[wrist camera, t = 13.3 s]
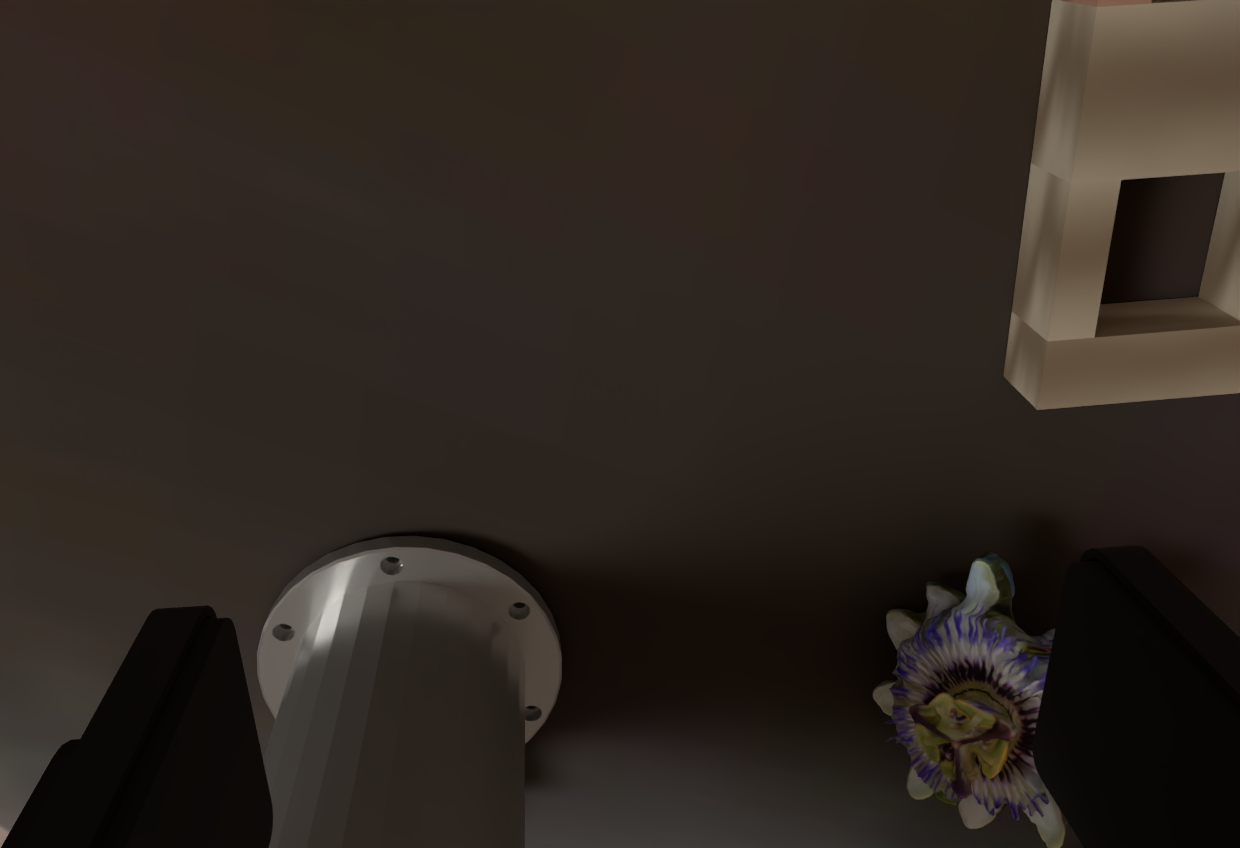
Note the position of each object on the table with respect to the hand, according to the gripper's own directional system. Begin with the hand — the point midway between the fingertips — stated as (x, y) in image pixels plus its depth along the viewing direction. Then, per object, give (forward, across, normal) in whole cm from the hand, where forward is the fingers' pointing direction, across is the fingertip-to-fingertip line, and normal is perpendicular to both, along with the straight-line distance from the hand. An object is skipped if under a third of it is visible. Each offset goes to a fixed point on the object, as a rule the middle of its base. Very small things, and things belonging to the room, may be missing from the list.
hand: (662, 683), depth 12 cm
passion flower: (+27, -18, +21) cm, 39 cm away
